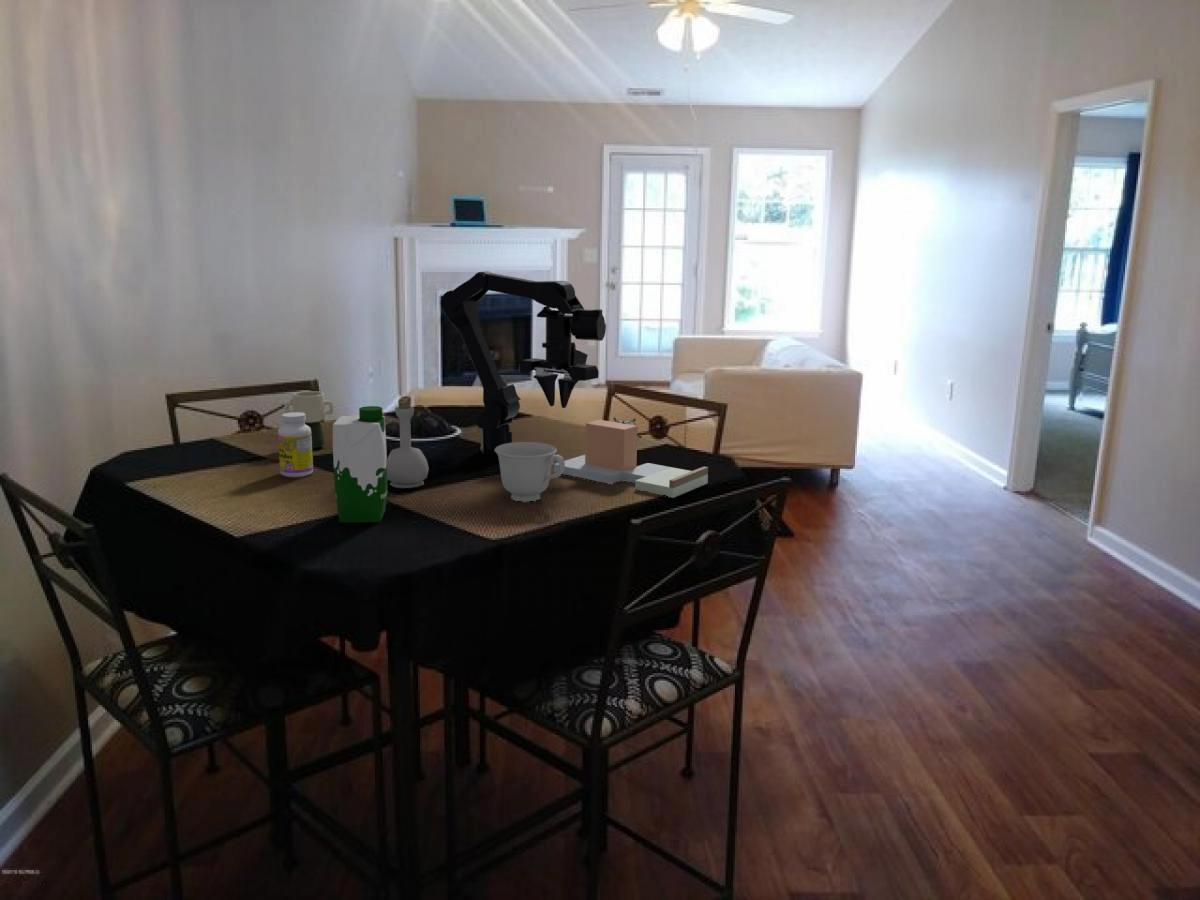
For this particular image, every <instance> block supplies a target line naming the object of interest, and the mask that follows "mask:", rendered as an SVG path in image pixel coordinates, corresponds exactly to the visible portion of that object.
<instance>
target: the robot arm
mask: <svg viewBox="0 0 1200 900" xmlns="http://www.w3.org/2000/svg"><path fill="white" fill-rule="evenodd" d="M488 292H496V293H501V294H505V295H506V294H507V295H511V296H515V297H516V296H517V297H521V298H525V299H526V298H527V299H531V301H535V302H536V303H538V304H540V305H543V306H544V307H543V308H542V309H541V310H540V311H539V312H538V313H537V314H536V317H537V318H545V342H542V343H541V348H544V349H545V358H544V359H543V358H527V359H522V360H521V361H520V363H519V365H518V368H519V369H518V371H519V373H521V374H531V373H532V371H535V374H534V375H533V378H534V379H535V380H536V381H537V383H538V384H539V386H540V388H541V390H542V392H543V393H544V396H545V398H546V400H547V402H548V405H549V406H550V407H554V406H555V400H556V381H557V383H558V388H559V389H558V392H559V399H560V405H561V408H562V409H565V408H567V406H568V403H569V401H570V400H569V399H570V397H571V395H572V392H573V390H574V388H575V386H576V385H577V384H578V383H579V381H582V382H584V381H590V380H595V379H599V369H598V367H597V366H596V365H593V364H587V359H588V356H589V355H588V354H587V353H585V352H583V351H580V350H577V349H576V346H577V345H576V343H575V342H573V341H572V336H573V337H574V338H575V339H576V340H581V341H600V342H601V341H603V340H604V338H605V336H606V331H607V329H606V328H607V324H606V321H605V317H604V315H603V309H599V308H598V309H597V308H596V309H585V308H584V307H583V305H582V303H581V302H580V300H579V299H578V297H577V296H576V291H575V288H574V286H573V284H572V283H571V282H569V281H567V280H543V281H542V280H541V281H539V280H531V279H527V278H519V277H515V276H510V275H503V274H498V273H493V272H491V271H478V272H476V273H475V274H473V276H472V277H470V279H467V280H466V281H465V282H463V283H461V284H460V285H458V286H457V287H455V288H454V289H453V290H447V291H445V292H444V294H443V295H442V297H441V300H440V307H441V309H442V311H443V313H444V314H445V317H447V320H448V321H449V322H450V323H451V324H452V325H453V326H454V327H455V329H457V331H458V332H459V334H460V336H461V338H462V341H463V344H464V346H465V348H466V350H467V352H468V355H469V358H470V359H471V361H472V364H473V367H474V370H475V371H476V374H477V376H478V379H479V381H480V383H481V385H482V390H483V391H482V403H483V406H484V409H485V410H484V411H483V412H482V413H480V415H478V417H477V418H476V419H475V421H476V425H477V428H478V429H481V430H480V435H481V436H480V437H481V438H480V439H481V441H480V442H481V445H480V447H479V448H480V451H481V453H482V454H483V455H496V454H497V453H496V452H495V448H496V447H497V446H499V445H502V444H507V443H513V432H512V431H511V429H510V425H509V424H512V423H513V420H514V417H517V414H518V413H519V410H520V408H521V404H520V401H521V400H522V399H521V398H520V396H519V395H518V394H517V390H516V387H515V384H513V383H511V384H507V383H506V382H505V381H504V380H503V379H502V376H501V374H500V371H499V369H498V367H497V365H496V363H495V360H494V358H493V355H492V353H491V350H490V348H489V346H488V345H489V344H487V341H486V337H485V336H484V333H483V331H482V329H481V326H480V323H479V314H480V313H479V307H478V302H480V301H481V300H482V299H483V298H484V296H486V294H487V293H488ZM556 309H557V310H556ZM559 374H561V375H563V377H562V378H558V376H559ZM497 455H498V454H497Z"/></svg>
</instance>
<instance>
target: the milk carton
mask: <svg viewBox="0 0 1200 900" xmlns="http://www.w3.org/2000/svg"><path fill="white" fill-rule="evenodd" d="M358 411H359V413H358V414H355V415H341V416H340V417H338V419H336V421H335V422H333V424H332V456H333V457H332V458H333V459H332V460H333V479H334V495H335V501H336V509H337V514H338V522H339V523H381V521H382V519H383V517H384V515H385V513H386V510H387V508H386V507H387V499H388V497H387V496H388V479H387V458H388V456H387V437H386V435H387V434H386V417H385V415H383V408H382V407H381V406H375V405H374V406H373V405H372V406H371V405H368V406H362V407H359V409H358Z"/></svg>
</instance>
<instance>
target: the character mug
mask: <svg viewBox="0 0 1200 900" xmlns="http://www.w3.org/2000/svg"><path fill="white" fill-rule="evenodd" d="M325 399H326V398H325V393H324V392H322V391H317V390H315V391H314V390H307V391H305V390H304V391H298V392H294V393H292V400H290V401H289V400H288V401H287V400H286V401H285V402H284V404H283V405H284V414H285V413H291V412H301V413H305V415H306V420H305V425H308V426H309V427H310V428H311V436H312V449H315V448H317V447H318V448H320V447H322V446H324V445H326V442H325V436H324V435H325V434H324V431H323V425H322V424H321V421H322V422H323V421H324V420H325V418H326V415H333V414H334V401H333V400H325ZM326 405H328V408H329V409H328V410H326ZM290 406H292V410H290Z"/></svg>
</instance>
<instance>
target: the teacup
mask: <svg viewBox="0 0 1200 900" xmlns="http://www.w3.org/2000/svg"><path fill="white" fill-rule="evenodd" d="M495 452H496V453H497V456H498V463H499V469H500V477H501V482H502V485H503V488H504V489H505V490H506V491H507V492H509V493H511V496H510V499H511V500H512V499H513V500H512V501H514V500H515V502H517V501H523V502H522V503H530V502H529V501H534V502H537V501H536V500H538V499H539V500H540V499H541V495H540V494H542V492H544V491H545V490H547V488H548V487H549V484H550V481H551V480H552V479H556V478H559V477H561V476H562V475H561V474H562V473H563V472H564V469H565V462H564V461H565V460H564V458H563V456H562V455H560V454H556V453H557V452H558V450H557V448H556V447H555V446H554V445H552V444H548V443H544V442H537V441H516V442H512V443H507V444H502V445H499V446H497V447H496V448H495ZM555 461H557V463H559V470H558V471H557V472H556V473H552V466H554V464H555ZM551 473H552V474H551ZM539 500H538V501H539ZM526 501H527V502H526Z"/></svg>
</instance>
